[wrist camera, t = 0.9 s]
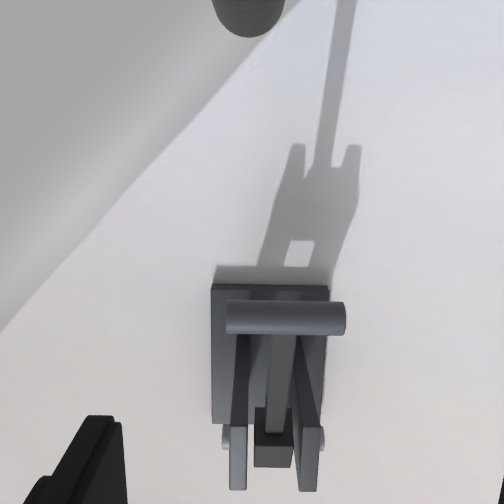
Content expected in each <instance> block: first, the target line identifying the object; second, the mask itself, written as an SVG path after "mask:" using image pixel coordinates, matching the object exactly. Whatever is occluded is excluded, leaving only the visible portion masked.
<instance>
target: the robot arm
mask: <svg viewBox="0 0 504 504" xmlns="http://www.w3.org/2000/svg"><path fill="white" fill-rule="evenodd" d="M23 504H128V501H127V488H126V475H125V461H124V448H123V435H122V425H121V423H120V422H115V421H114V418H113V416H105V415H89V416H87V417H86V418H85V420H84V422H83V423H82V425H81V427H80V428H79V430H78V432H77V433H76V435H75V437H74V439H73V440H72V442H71V444H70V445H69V447H68V449H67V450H66V452H65V454H64V455H63V457H62V459H61V461H60V462H59V464H58V466H57V467H56V469H55V471H54V472H53V474H52V476H43V477H41V478H40V479H39V480H38V481H37V482H36V484H35V485H34V487H33V488H32V490H31V492H30V493H29V495H28V496H27V498H26V500H25V501H24V503H23ZM498 504H504V478H503V483H502V488H501V493H500V497H499V502H498Z"/></svg>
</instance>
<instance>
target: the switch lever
mask: <svg viewBox="0 0 504 504" xmlns="http://www.w3.org/2000/svg"><path fill="white" fill-rule="evenodd" d="M345 329H346V310H345V306H344V303H343V302H325V301H270V300H227V302H226V333H227V334H270V342H269V356H268V371H267V386H266V400H265V407H255V417H254V467H268V468H290V466H291V461H292V455H293V449H294V439H293V423H292V409H291V408H287V404H288V397H289V389H290V382H291V375H292V367H293V360H294V352H295V345H296V337H297V335H332V336H342V335H344V333H345Z"/></svg>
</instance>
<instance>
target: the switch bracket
mask: <svg viewBox="0 0 504 504" xmlns="http://www.w3.org/2000/svg"><path fill="white" fill-rule="evenodd" d="M227 300H270V301H325V302H329V289H328V287H327V286H307V285H252V284H212V287H211V372H212V424H223V428H222V449H225V450H229V489H230V490H246V489H247V444H248V424H254V417H255V407H265V400H266V386H267V371H268V356H269V342H270V334H227V333H226V302H227ZM325 347H326V335H297V337H296V345H295V352H294V360H293V367H292V375H291V382H290V389H289V397H288V404H287V408H291V409H292V423H293V439H294V455H295V463H296V471H297V479H298V487H299V491H300V492H316V489H317V476H318V462H319V451H324V446H325V437H324V429H323V426H321V425H320V415H321V401H322V388H323V374H324V360H325Z"/></svg>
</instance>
